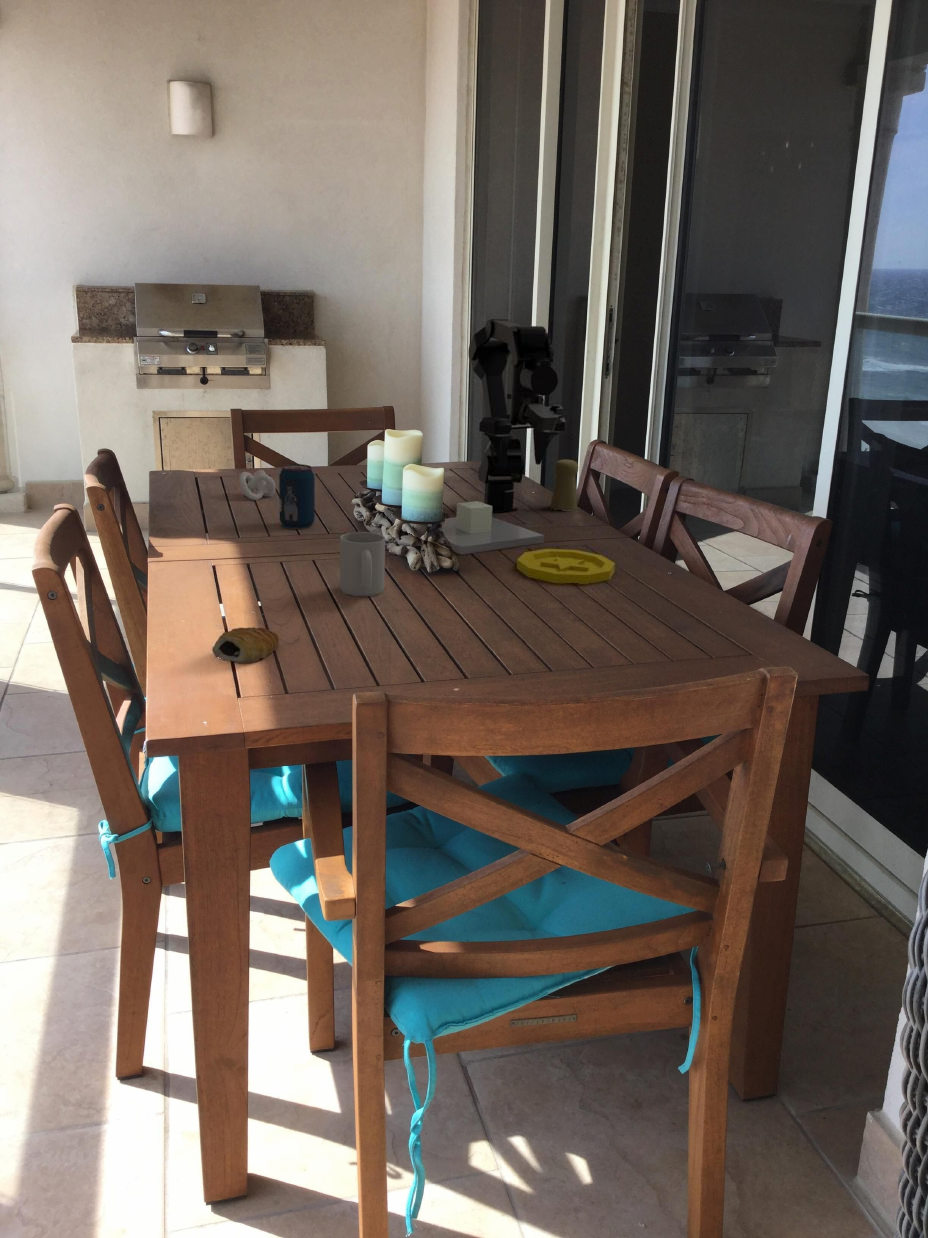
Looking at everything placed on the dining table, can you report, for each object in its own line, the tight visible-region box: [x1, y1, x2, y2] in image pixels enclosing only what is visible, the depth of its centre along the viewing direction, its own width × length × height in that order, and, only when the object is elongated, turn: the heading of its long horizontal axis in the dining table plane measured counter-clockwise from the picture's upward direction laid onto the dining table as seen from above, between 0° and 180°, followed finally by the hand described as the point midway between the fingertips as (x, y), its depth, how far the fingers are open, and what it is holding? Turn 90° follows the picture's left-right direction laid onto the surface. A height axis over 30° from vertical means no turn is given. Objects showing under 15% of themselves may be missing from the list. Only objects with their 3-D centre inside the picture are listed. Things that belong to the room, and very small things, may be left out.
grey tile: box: [442, 516, 545, 555], centre depth 208 cm, size 20×20×2 cm
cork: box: [549, 458, 579, 511], centre depth 235 cm, size 6×6×11 cm
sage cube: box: [455, 500, 493, 534], centre depth 207 cm, size 5×5×5 cm
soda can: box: [278, 463, 316, 530], centre depth 209 cm, size 7×7×12 cm
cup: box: [339, 531, 386, 598], centre depth 169 cm, size 7×10×9 cm
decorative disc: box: [516, 548, 616, 585], centre depth 188 cm, size 17×18×2 cm
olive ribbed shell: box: [211, 627, 279, 664], centre depth 142 cm, size 9×7×4 cm
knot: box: [238, 469, 277, 501], centre depth 233 cm, size 8×8×6 cm
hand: (520, 465), depth 218 cm, fingers open, 9 cm apart
